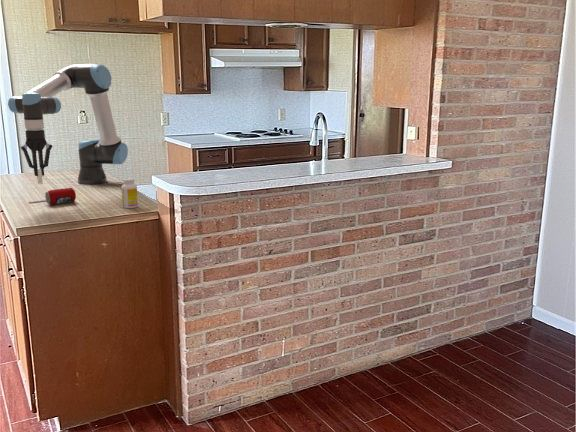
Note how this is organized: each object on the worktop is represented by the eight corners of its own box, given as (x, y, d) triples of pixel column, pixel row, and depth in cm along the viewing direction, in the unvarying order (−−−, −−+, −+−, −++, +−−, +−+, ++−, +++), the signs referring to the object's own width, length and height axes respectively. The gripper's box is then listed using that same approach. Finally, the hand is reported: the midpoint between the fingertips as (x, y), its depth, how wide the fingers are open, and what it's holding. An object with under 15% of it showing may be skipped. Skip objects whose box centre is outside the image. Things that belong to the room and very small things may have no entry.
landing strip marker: (68, 198, 265) (68, 197, 265) (69, 198, 264) (69, 198, 264) (28, 202, 255) (28, 202, 255) (29, 203, 253) (29, 202, 253)
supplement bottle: (141, 206, 250) (139, 178, 247) (132, 209, 244) (130, 180, 241) (128, 204, 252) (126, 177, 249) (119, 208, 246) (117, 179, 243)
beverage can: (73, 203, 259) (46, 206, 252) (70, 189, 260) (43, 192, 252) (77, 200, 254) (50, 203, 247) (74, 185, 255) (47, 189, 247)
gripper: (48, 128, 245) (53, 180, 251) (16, 129, 237) (22, 183, 243) (52, 129, 239) (57, 182, 245) (20, 130, 231) (26, 186, 237)
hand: (40, 183), depth 244 cm, fingers closed
